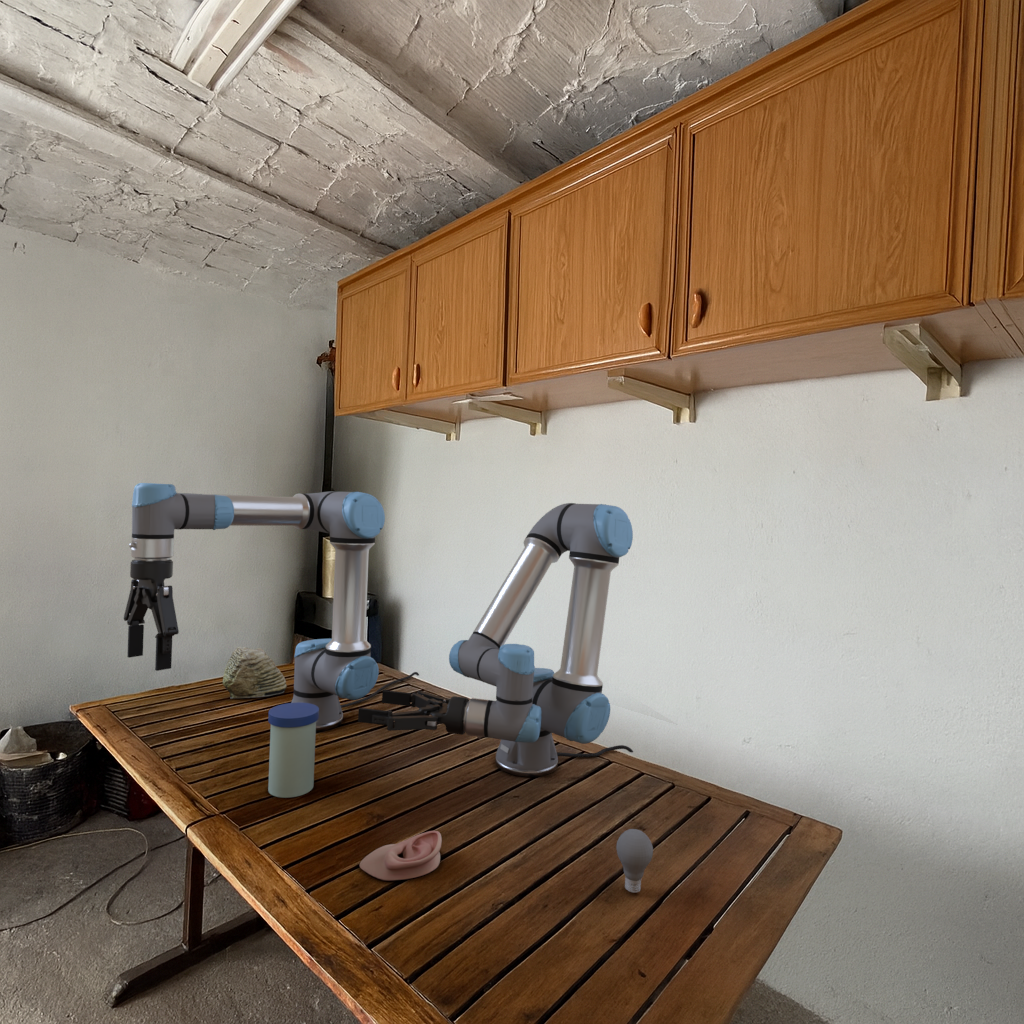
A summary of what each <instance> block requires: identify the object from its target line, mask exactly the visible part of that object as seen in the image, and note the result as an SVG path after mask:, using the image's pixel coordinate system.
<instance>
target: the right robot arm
mask: <svg viewBox="0 0 1024 1024" xmlns="http://www.w3.org/2000/svg"><path fill="white" fill-rule="evenodd" d="M633 531H634V530H633V525H632V522H631V519H630V518H629V516H628V513H627V512H626V511H624V509H623V508H621V507H619V506H617V505H611V504H604V503H576V502H567V503H561V504H559V505H557V506H555V507H553V508H552V509H550V510H549V511H547V512H546V513H545V514H544V515H542V516H541V517H540V519H538V521H536V523H534V525H533V526H532V527H531V529H530V530H529V532H528V534H526V537H525V538H524V540H523V546H524V548H523V549H522V551H521V553H520V555H519V556H518V558H517V559H516V561H515V563H514V564H513V566H512V568H511V569H510V571H509V572H508V573H507V576H505V579H504V580H503V582H502V584H501V585H500V587H499V589H498V590H497V592H496V594H495V596H494V597H493V598H492V601H491V602H490V604H489V605H488V607H487V608H486V610H485V612H484V614H483V615H482V617H481V618H480V620H479V622H478V624H477V625H476V626H475V628H474V629H473V631H472V634H471V635H470V636H469V638H468V639H461V640H457V642H456V643H454V644H453V645H452V647H451V649H450V651H449V654H448V662H449V665H450V668H451V669H452V670H453V671H454V672H456V673H458V674H460V675H462V676H463V677H466V678H470V679H473V680H475V681H479V682H482V683H486V684H487V685H490V686H493V687H496V691H495V700H492V699H485V698H476V697H471V698H470V699H469V698H468V697H464V696H456V695H453V696H451V697H450V698H449V697H444V696H440V695H436V694H433V693H429V692H426V691H423V690H417V692H412V693H411V692H405V691H395V690H388V689H387V690H386V689H383V690H381V691H382V692H381V703H382V704H388V705H396V706H407V707H411V708H418V709H416V710H408V711H407V710H406V711H401V712H393V711H392V709H388V710H384V709H383V710H382V709H376V708H375V709H374V708H367V707H366V708H365V707H359V708H358V711H357V712H358V713H357V723H363V724H371V725H380V726H386V727H387V729H386V730H387V731H388V732H393V731H394V732H395V731H417V730H428V731H429V730H430V731H437V729H438V726H439V725H444V727H445V731H446V732H447V733H448V734H453V735H460V736H463V735H465V734H466V735H467V736H470V737H476V738H477V739H478V740H481V739H482V738H485V739H486V738H487V739H495V740H500V742H499V745H498V747H497V750H496V752H495V765H496V767H497V768H498V769H499V770H500V771H502V772H504V773H507V774H510V775H513V776H518V777H525V778H534V777H535V778H537V777H543V776H547V775H549V774H552V773H554V772H555V771H556V770H557V769H558V767H559V757H567V758H595V757H600V756H602V755H603V754H605V753H607V752H612V751H617V750H626V751H627V752H629V753H634V750H633V749H632V748H631V747H629V746H627V745H623V744H619V745H614V746H609V747H605V748H601V750H599V751H596V752H591V753H572V752H558V751H557V748H556V745H555V741H554V737H553V734H554V735H557V736H559V737H562V738H564V739H566V740H567V741H569V742H576V743H578V744H583V745H584V744H585V745H586V744H590V743H592V742H594V741H595V740H597V739H598V738H599V737H600V736H601V734H603V732H604V731H605V729H606V727H607V726H608V723H609V719H610V716H611V703H610V700H609V698H608V696H606V695H605V694H604V693H603V688H604V687H603V686H604V683H603V681H602V680H601V678H600V677H599V675H598V673H599V666H600V665H599V664H600V657H601V649H602V642H603V634H604V626H605V620H606V619H605V618H606V612H607V604H608V596H609V590H610V589H609V588H610V581H611V574H612V571H613V570H615V569H616V568H617V567H618V566H619V564H620V558H622V557H624V556H626V555H627V554H628V553H629V550H630V549H631V547H632V544H633V540H634V539H633V538H634V534H633V533H634V532H633ZM566 552H569V555H568V559H569V560H570V562H571V563H572V565H573V574H572V580H571V588H570V595H569V602H568V608H567V609H568V610H567V616H566V624H565V632H564V638H563V646H562V654H561V659H560V660H561V661H560V667H559V669H558V670H557V671H556V672H555V671H554V670H553V669H551V668H545V667H536V666H535V651H534V649H533V648H532V647H531V646H529V645H526V644H519V643H506V642H507V641H508V639H509V637H510V636H511V634H512V632H513V630H514V629H515V627H516V625H517V623H518V622H519V620H520V618H521V617H522V615H523V613H524V611H525V609H526V607H528V604H529V602H530V601H531V599H532V597H533V596H534V595H535V593H536V591H537V589H538V587H539V586H540V584H541V582H542V580H543V579H544V577H545V575H546V574H547V572H548V570H549V569H550V567H551V566H552V564H554V563H557V562H558V561H559V559H560V558H561V556H562V555H563V554H564V553H566Z"/></svg>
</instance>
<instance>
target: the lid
mask: <svg viewBox="0 0 1024 1024" xmlns="http://www.w3.org/2000/svg"><path fill="white" fill-rule="evenodd" d="M267 715H268V717H267V719H268V720H267V722H268V723H269V724H270V726H271V725H273V726H277V727H286V728H291V727H301V726H306V725H309V724H312V723H314V722H316V721H317V720H318V718H319V708H318V706H316V705H314V704H310V703H291V702H286V703H282V704H278V705H276V706H273V707H271V708H270V709H269V710H268V714H267Z"/></svg>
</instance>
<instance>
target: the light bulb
mask: <svg viewBox="0 0 1024 1024" xmlns="http://www.w3.org/2000/svg"><path fill="white" fill-rule="evenodd" d="M615 849H616V854H617V857H618V859H619V861H620V863H621V865H622V867H623V873H624V874H623V875H624V876H625V878H624V888H625V890H627V891H628V892H630V893H634V894H635V893H639V892H640V891H641V889H642V887H641V886H642V879H643V877H644V875H645V871H646V868H647V867H648V866H649V864H650V863H651V861H652V859H653V855H654V847H653V843H652V841H651V838H649V836H648V835H647V834H646V833H645V832H643V831H642V830H641V829H636V828H629V829H627V830H625V831H623V832H622V833H621V834H620V835H619V837H618V839H617V841H616V847H615Z"/></svg>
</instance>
